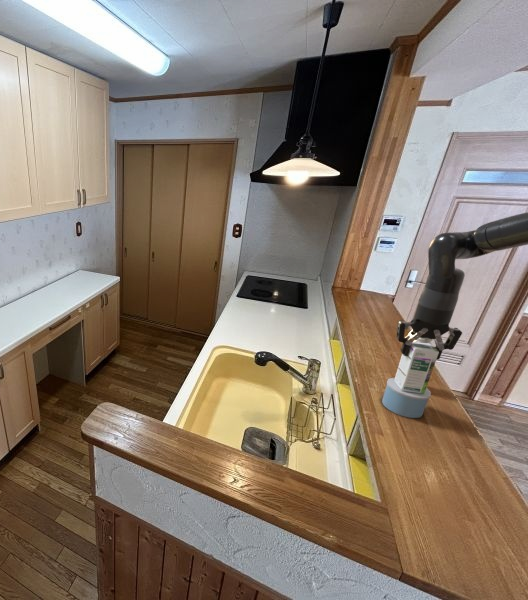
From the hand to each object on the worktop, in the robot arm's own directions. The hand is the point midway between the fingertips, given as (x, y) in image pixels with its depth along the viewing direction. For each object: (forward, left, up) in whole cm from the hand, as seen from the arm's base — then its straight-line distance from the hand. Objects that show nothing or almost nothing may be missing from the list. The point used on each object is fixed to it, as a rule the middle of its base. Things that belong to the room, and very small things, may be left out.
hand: (418, 357), depth 95 cm
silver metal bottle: (-5, -15, -18) cm, 24 cm away
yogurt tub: (0, 0, -18) cm, 18 cm away
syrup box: (0, 0, -11) cm, 11 cm away
